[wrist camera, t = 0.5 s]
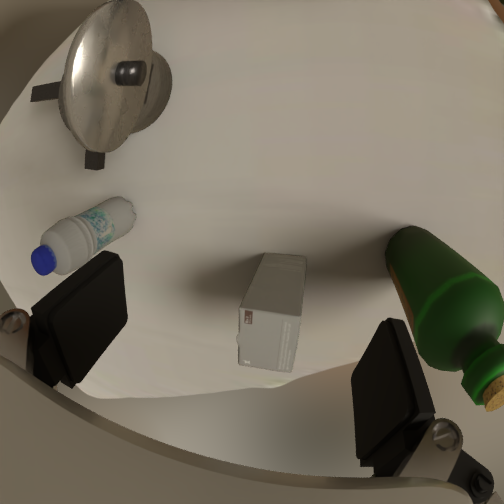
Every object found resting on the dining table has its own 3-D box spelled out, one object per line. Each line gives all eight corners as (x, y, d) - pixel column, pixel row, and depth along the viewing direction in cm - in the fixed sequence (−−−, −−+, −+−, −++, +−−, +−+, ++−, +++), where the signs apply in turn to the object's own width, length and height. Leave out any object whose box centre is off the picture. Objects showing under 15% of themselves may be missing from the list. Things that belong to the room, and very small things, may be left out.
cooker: (75, 37, 31) (41, 29, 22) (194, 21, 29) (167, -2, 21) (57, 154, 40) (21, 163, 32) (166, 168, 39) (132, 179, 30)
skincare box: (301, 302, 44) (298, 377, 29) (256, 297, 45) (235, 369, 30) (308, 252, 40) (309, 319, 26) (259, 248, 41) (235, 311, 27)
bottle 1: (109, 229, 44) (27, 283, 26) (107, 191, 42) (16, 233, 24) (141, 235, 44) (59, 298, 26) (140, 195, 41) (48, 243, 23)
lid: (93, -24, 9) (130, -32, 9) (153, 25, 22) (178, 25, 22) (53, 165, 15) (86, 167, 15) (131, 143, 28) (154, 146, 28)
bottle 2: (373, 283, 40) (424, 447, 15) (381, 216, 36) (485, 357, 11) (431, 283, 39) (509, 421, 13) (444, 219, 34) (567, 334, 9)
